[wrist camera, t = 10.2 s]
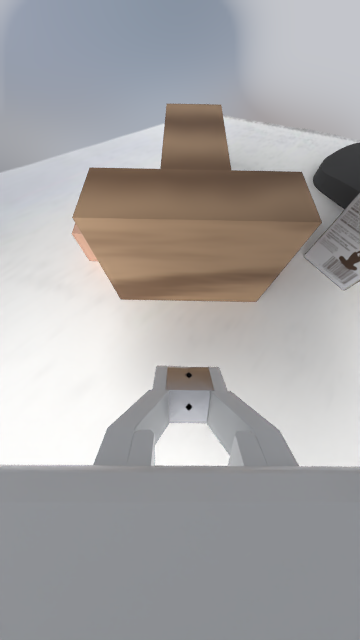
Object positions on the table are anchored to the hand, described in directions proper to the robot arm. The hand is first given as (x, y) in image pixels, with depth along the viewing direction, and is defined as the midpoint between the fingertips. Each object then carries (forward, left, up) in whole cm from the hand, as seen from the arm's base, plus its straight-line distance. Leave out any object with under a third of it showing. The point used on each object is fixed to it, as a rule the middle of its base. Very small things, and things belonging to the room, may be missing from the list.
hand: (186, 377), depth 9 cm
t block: (-6, +15, -8) cm, 18 cm away
